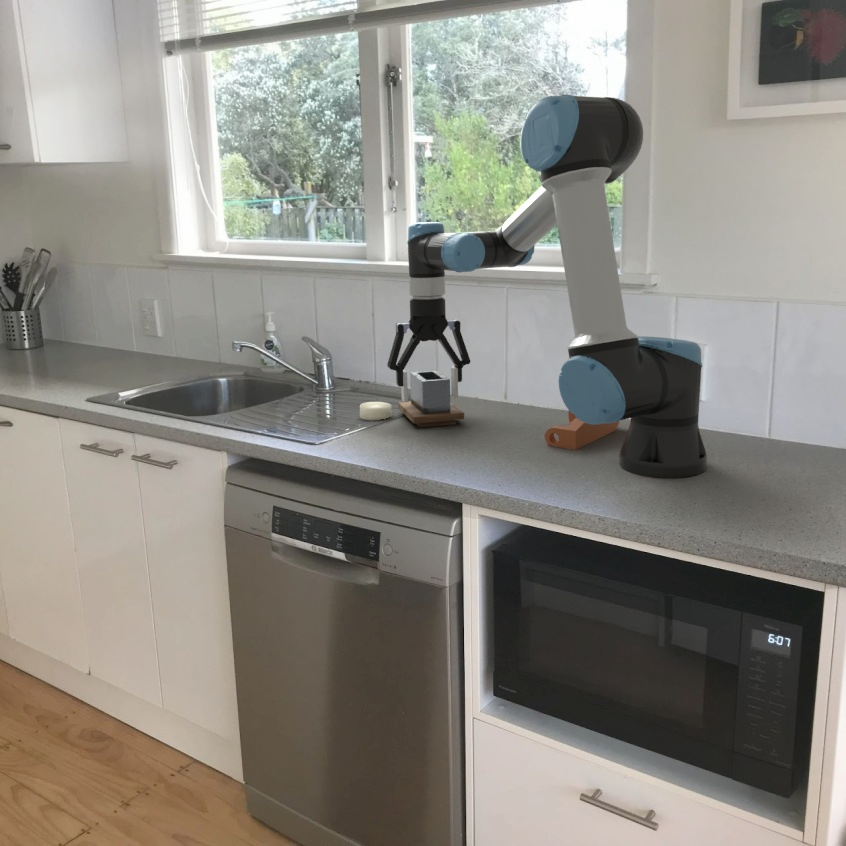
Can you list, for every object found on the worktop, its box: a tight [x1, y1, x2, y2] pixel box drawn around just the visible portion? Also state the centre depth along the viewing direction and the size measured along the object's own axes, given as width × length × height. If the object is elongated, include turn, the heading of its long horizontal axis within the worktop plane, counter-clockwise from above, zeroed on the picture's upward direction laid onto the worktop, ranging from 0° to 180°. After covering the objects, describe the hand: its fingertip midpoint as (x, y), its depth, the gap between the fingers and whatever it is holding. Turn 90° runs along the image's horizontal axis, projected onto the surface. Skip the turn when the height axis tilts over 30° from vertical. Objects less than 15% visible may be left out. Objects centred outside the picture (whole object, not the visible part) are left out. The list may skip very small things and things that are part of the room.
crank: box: [544, 410, 621, 451], centre depth 185 cm, size 20×8×8 cm, turn 143°
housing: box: [409, 370, 451, 414], centre depth 199 cm, size 6×11×7 cm, turn 14°
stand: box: [397, 400, 465, 428], centre depth 201 cm, size 15×11×3 cm
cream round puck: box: [359, 401, 393, 421], centre depth 204 cm, size 7×7×3 cm
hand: (429, 398), depth 200 cm, fingers open, 10 cm apart
